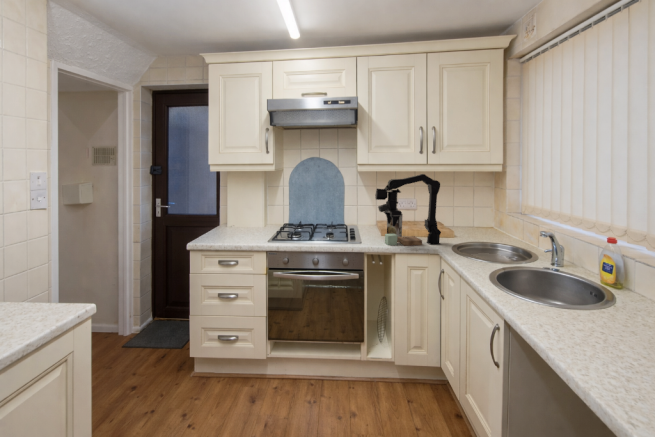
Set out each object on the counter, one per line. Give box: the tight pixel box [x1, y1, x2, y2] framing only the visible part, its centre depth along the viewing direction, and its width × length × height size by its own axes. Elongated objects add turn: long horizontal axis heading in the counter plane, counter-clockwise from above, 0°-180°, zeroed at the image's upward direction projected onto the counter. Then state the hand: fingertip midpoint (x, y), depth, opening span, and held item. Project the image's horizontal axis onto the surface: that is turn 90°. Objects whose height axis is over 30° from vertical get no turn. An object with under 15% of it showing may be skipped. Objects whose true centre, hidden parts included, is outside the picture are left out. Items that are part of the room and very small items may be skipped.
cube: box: [384, 233, 398, 246], centre depth 223 cm, size 6×6×6 cm
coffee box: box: [386, 214, 403, 237], centre depth 242 cm, size 9×6×16 cm
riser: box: [397, 235, 423, 247], centre depth 225 cm, size 12×12×3 cm
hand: (391, 224), depth 221 cm, fingers open, 9 cm apart
